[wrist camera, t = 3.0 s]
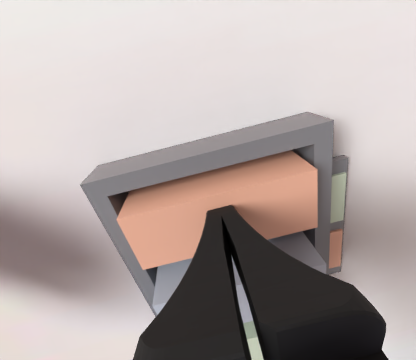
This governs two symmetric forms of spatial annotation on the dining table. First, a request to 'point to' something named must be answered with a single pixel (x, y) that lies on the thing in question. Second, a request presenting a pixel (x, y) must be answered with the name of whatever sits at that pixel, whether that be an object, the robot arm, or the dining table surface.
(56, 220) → the dining table surface
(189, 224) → the key terracotta
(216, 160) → the keypad frame
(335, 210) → the strip
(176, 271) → the key slate
